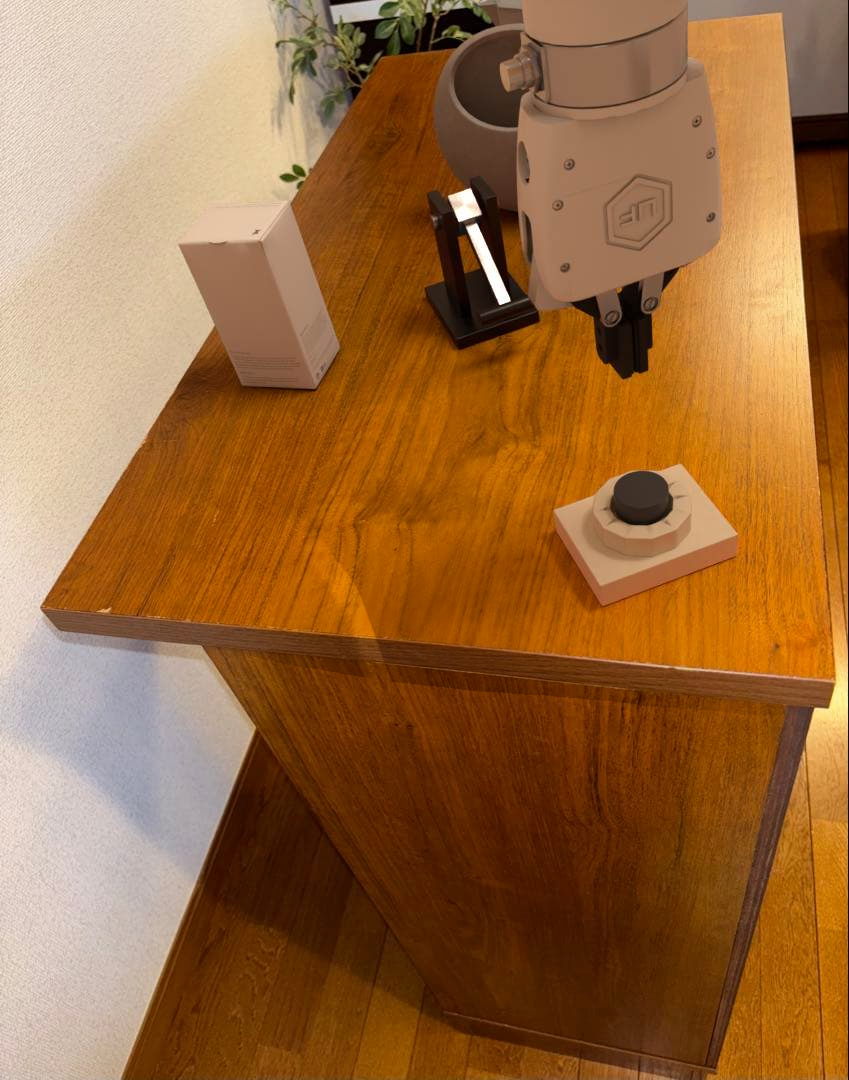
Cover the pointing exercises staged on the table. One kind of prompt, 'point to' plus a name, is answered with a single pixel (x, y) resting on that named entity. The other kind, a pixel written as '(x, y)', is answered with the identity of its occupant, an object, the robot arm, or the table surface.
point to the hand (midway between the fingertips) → (625, 363)
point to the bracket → (471, 273)
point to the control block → (644, 538)
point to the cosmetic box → (262, 293)
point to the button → (641, 498)
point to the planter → (481, 112)
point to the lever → (484, 259)
